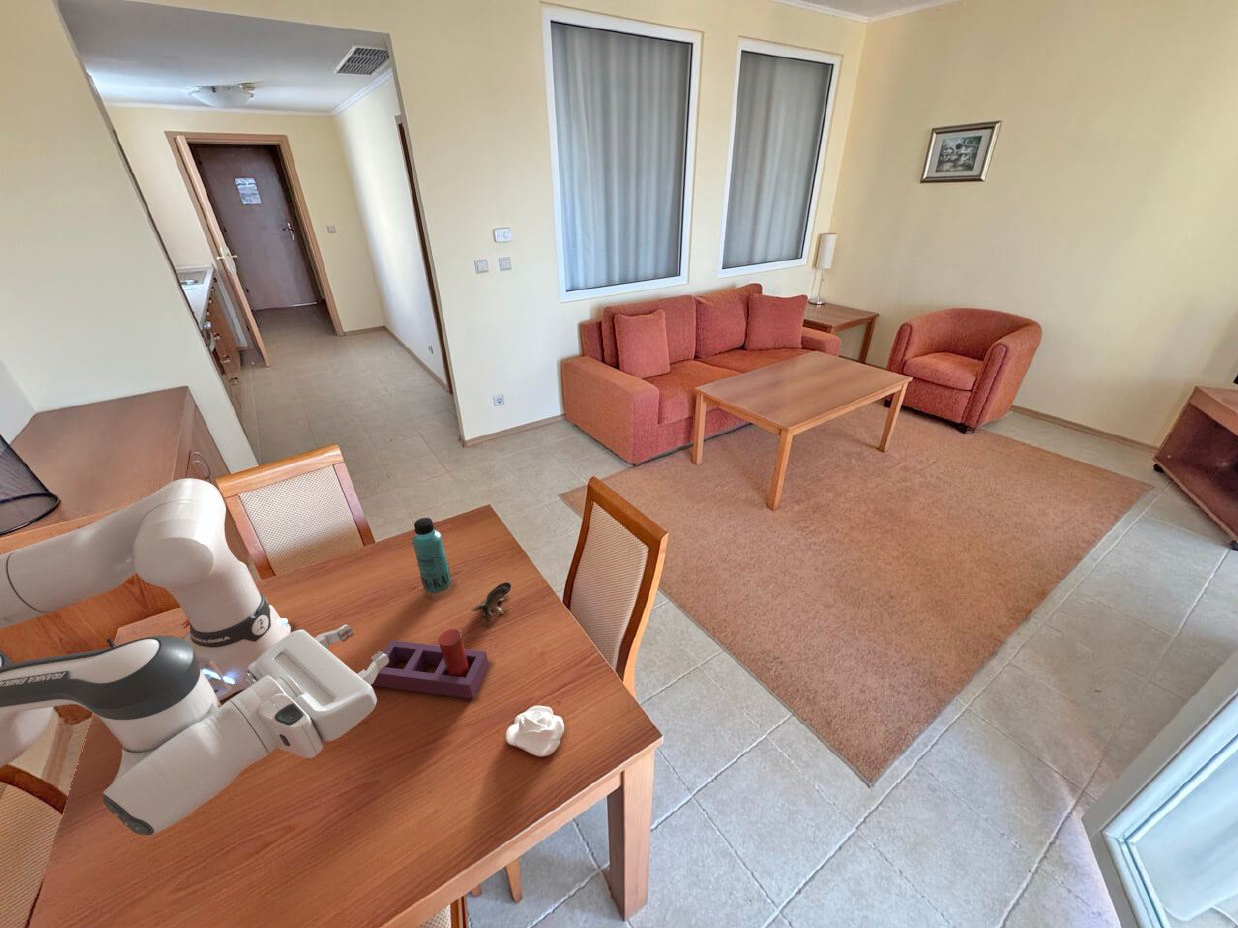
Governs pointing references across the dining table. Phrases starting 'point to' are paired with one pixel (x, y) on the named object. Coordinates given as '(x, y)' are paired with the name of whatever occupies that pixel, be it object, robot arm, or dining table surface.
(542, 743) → the rose
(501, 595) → the eagle figurine
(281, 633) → the robot arm
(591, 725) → the dining table surface
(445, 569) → the beverage bottle
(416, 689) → the peg board
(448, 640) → the red peg
